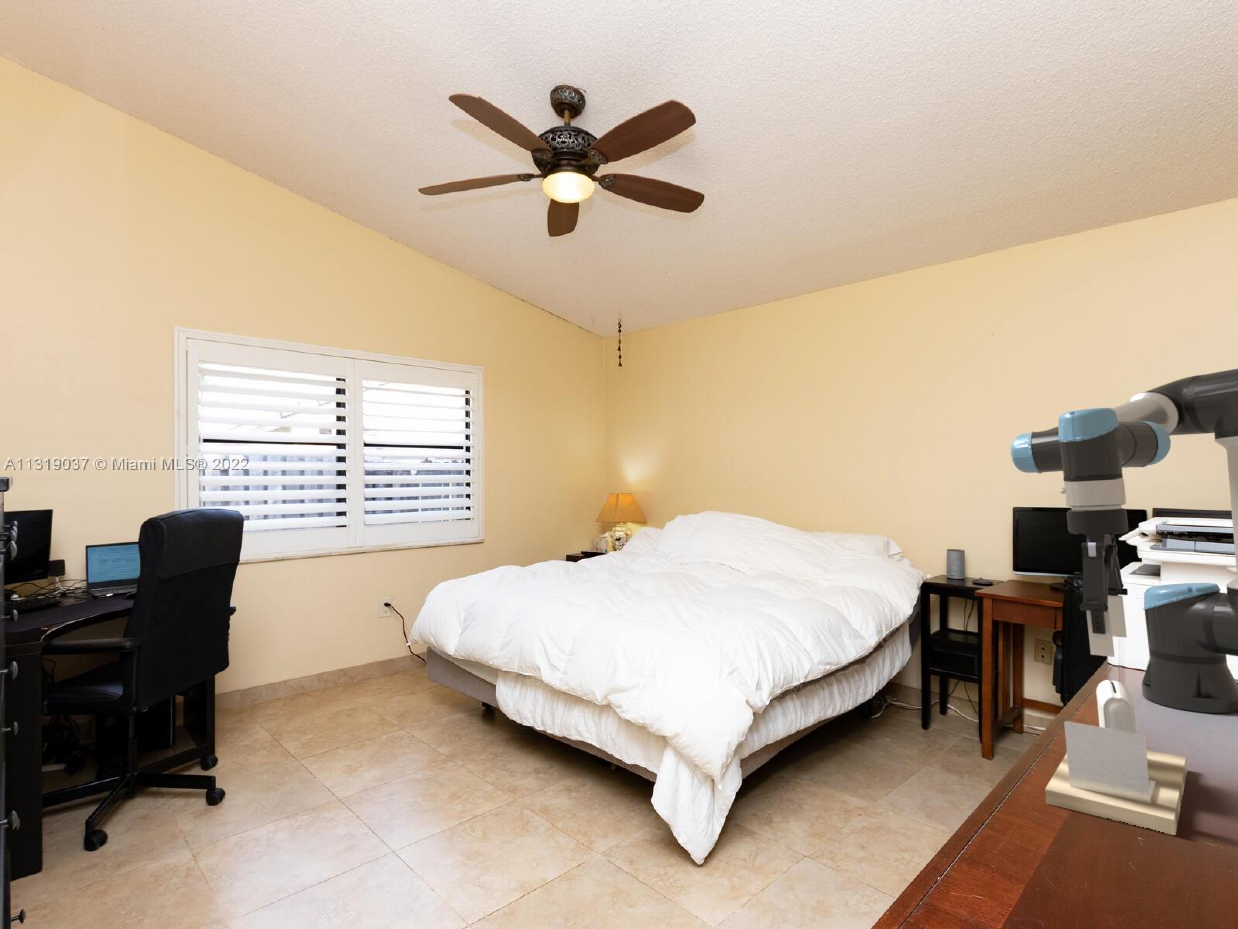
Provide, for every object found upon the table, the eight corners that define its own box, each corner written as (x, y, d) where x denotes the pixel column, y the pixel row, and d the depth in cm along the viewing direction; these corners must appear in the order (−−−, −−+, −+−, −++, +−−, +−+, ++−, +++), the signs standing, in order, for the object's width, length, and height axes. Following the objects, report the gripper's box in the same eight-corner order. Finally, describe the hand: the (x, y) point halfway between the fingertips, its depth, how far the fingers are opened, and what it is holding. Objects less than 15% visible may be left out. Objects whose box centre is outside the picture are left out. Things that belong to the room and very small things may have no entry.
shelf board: (1077, 748, 108) (1076, 737, 108) (1187, 770, 98) (1185, 757, 98) (1046, 803, 91) (1045, 789, 91) (1175, 835, 81) (1173, 819, 81)
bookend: (1079, 769, 96) (1073, 709, 97) (1156, 785, 90) (1149, 721, 90) (1070, 786, 91) (1064, 723, 92) (1150, 805, 85) (1144, 736, 85)
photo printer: (1100, 750, 102) (1092, 672, 103) (1134, 754, 100) (1126, 675, 101) (1106, 775, 94) (1098, 691, 94) (1143, 781, 91) (1135, 694, 92)
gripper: (1080, 504, 110) (1093, 627, 109) (1049, 513, 93) (1064, 660, 91) (1135, 502, 105) (1149, 631, 104) (1114, 512, 87) (1130, 668, 86)
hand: (1109, 645), depth 98 cm, fingers open, 13 cm apart
